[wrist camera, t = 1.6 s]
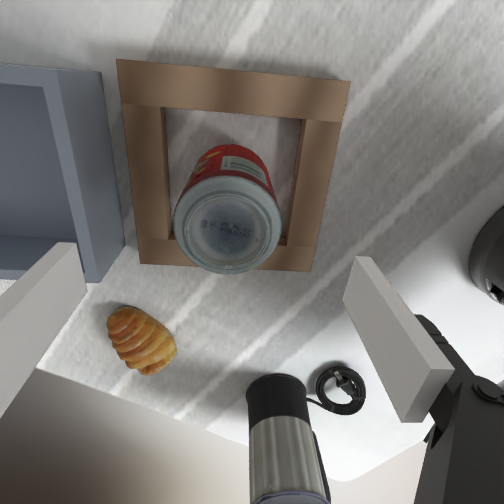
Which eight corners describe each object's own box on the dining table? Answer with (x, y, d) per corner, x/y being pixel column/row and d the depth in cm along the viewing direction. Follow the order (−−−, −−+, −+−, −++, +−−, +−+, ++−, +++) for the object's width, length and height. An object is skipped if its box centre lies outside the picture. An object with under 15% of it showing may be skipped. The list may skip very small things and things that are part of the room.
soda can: (197, 134, 27) (171, 170, 17) (274, 147, 28) (296, 189, 17) (192, 207, 31) (168, 275, 20) (260, 216, 31) (272, 287, 21)
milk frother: (233, 398, 46) (230, 521, 33) (299, 335, 40) (328, 455, 27) (303, 426, 51) (325, 544, 38) (372, 374, 45) (426, 493, 32)
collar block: (342, 81, 26) (350, 81, 24) (306, 262, 34) (310, 271, 33) (124, 60, 24) (115, 58, 22) (145, 254, 33) (140, 263, 31)
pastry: (96, 315, 37) (83, 338, 34) (141, 294, 36) (131, 316, 33) (143, 361, 42) (135, 385, 38) (184, 343, 40) (180, 367, 37)
